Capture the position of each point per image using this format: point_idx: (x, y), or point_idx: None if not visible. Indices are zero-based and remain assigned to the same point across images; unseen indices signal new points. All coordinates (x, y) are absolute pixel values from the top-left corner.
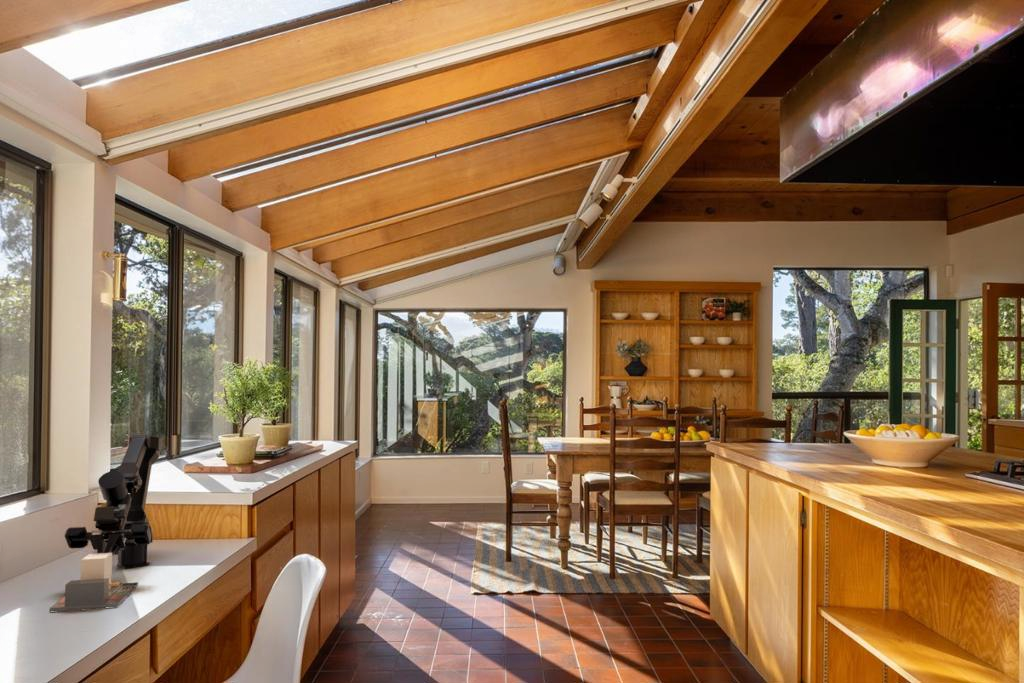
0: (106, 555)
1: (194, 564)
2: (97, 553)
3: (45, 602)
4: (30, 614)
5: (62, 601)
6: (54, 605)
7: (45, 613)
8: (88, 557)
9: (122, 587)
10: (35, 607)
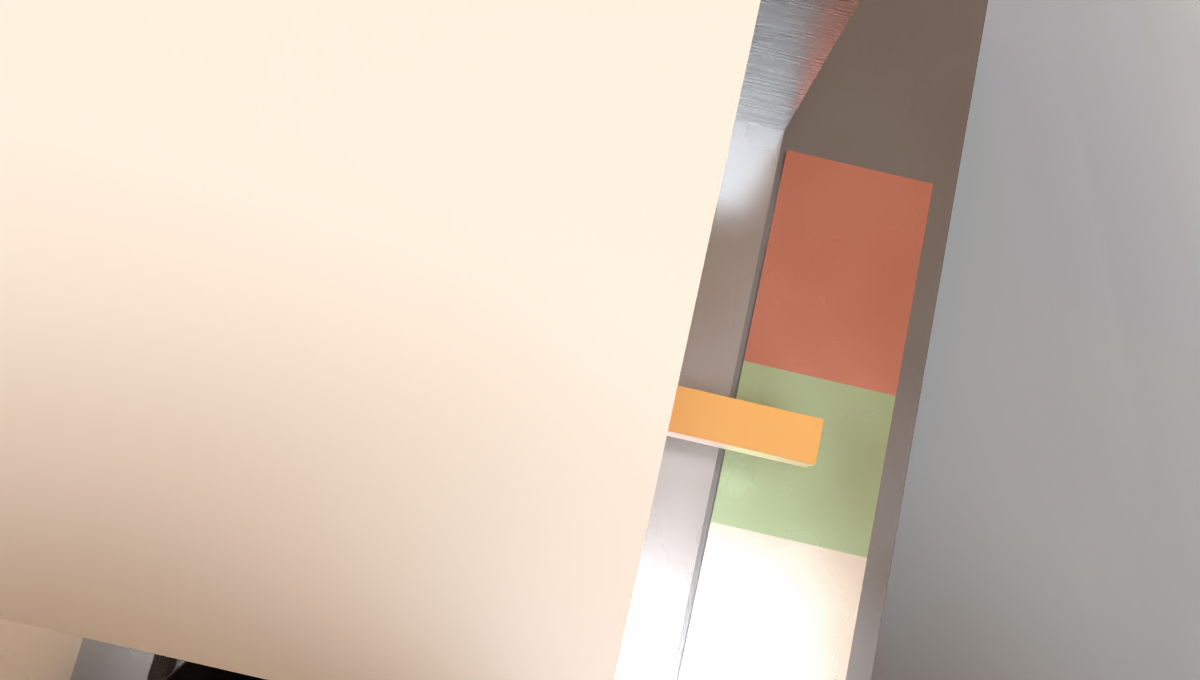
0: (12, 128)
1: None
2: (312, 664)
3: (1109, 579)
4: (1170, 60)
5: (877, 231)
6: (950, 95)
7: (1005, 18)
8: (593, 89)
9: (59, 662)
10: (1184, 368)
